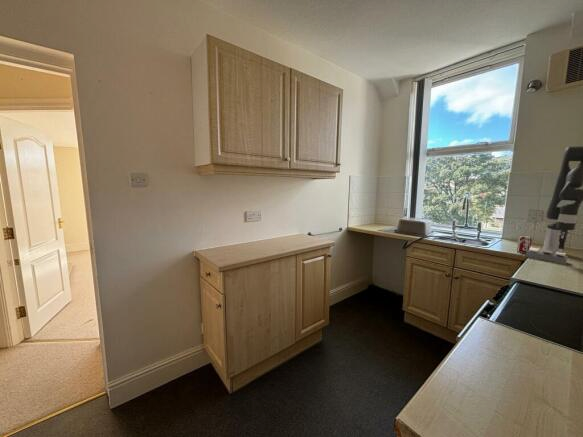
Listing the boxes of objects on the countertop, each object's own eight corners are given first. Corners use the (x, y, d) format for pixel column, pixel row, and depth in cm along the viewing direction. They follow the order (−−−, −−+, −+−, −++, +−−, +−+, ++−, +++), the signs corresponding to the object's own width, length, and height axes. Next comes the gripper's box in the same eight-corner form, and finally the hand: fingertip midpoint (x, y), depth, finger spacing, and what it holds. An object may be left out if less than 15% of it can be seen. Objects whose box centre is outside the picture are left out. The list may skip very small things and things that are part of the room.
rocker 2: (556, 253, 156) (556, 251, 156) (565, 254, 153) (566, 253, 153) (555, 254, 153) (555, 252, 153) (564, 255, 150) (564, 254, 149)
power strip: (527, 255, 168) (529, 248, 167) (566, 262, 154) (568, 255, 153) (525, 257, 163) (526, 250, 162) (565, 264, 149) (566, 257, 148)
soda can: (523, 251, 177) (526, 235, 175) (532, 254, 170) (535, 237, 168) (513, 251, 177) (516, 235, 175) (521, 253, 171) (524, 237, 169)
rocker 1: (531, 247, 166) (531, 246, 165) (539, 248, 163) (539, 247, 162) (528, 250, 162) (529, 249, 162) (537, 252, 159) (537, 250, 159)
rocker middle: (543, 251, 161) (543, 249, 161) (551, 253, 158) (552, 251, 158) (541, 251, 157) (542, 249, 157) (550, 252, 154) (551, 250, 154)
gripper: (559, 219, 155) (553, 245, 158) (556, 221, 147) (550, 249, 150) (577, 221, 149) (571, 248, 152) (574, 223, 142) (568, 252, 144)
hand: (560, 248), depth 151 cm, fingers closed
